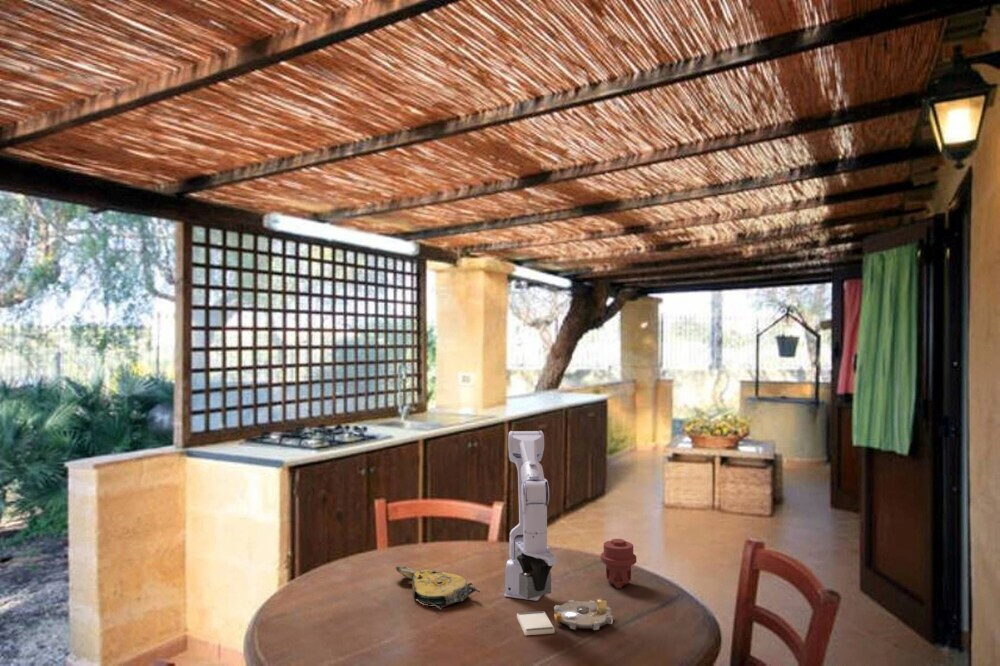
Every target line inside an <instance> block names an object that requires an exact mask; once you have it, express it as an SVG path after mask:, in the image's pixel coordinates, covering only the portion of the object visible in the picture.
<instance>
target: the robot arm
mask: <svg viewBox="0 0 1000 666" xmlns="http://www.w3.org/2000/svg"><path fill="white" fill-rule="evenodd" d="M507 439H508V441H507V443H508V444H507V445H508V446H507V447H508V449H507V450H508V458H509V461H510V462H511V463H514V464H515V467H516V470H517V484H518V485H517V487H518V488H517V491H518V524H517V525H515V526H514V527H513V528H512V529H511V530H510V532H509V545H508V548H509V549H508V550H509V559H507V562H506V564H505V571H504V572H505V573H504V580H505V581H504V583H505V584H504V591H505V592H504V594H503V595H504V597H507V598H514V599H522V600H529V601H535V602H537V601H539V600H540V598H541V597H542V596H538V597H534V598H530V599H526V598H525V597H523V596H521V595H519V573H523V572H528V571H530V570H533V572H534V578H535V588H536V591H542V590H544V589H545V585H546V581H547V577H548V574H549V572H551V570H552V568H553V567H554V566H557V565H558V557H557V556H556V555H555V554H554V553H552V551H551V547H550V546H548V506H547V505H549V501H550V487H549V482H548V479H547V478H545V476H544V475H545V474H544V469H543V465H542V464H541V463H540V462H541V461H542V458H543V454H544V451H545V435H544V432H543V431H542V430H538V431H537V430H533V431H531V430H529V431H528V430H525V431H524V430H523V431H522V430H521V431H516V430H515V431H513V430H510V431H509V432H508V436H507Z"/></svg>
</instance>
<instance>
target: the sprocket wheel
mask: <svg viewBox="0 0 1000 666" xmlns="http://www.w3.org/2000/svg"><path fill="white" fill-rule="evenodd" d="M553 610H554V611H553V613H554V614H553V616H554V617H553V620H554V622H556V623H562V624H564V625H567V626H568V627H569V629H572V630H576V629H578V628H579V629H592V630H593V631H597V630H600V627H602V626H605V625H606V624H609V625H612V624H613V622H614V615H612V608H611V607H610V606H608V604H607V599H606V598H602V597H600V598H596V601H595V600H591V599H590V600H589V601H583V600H578V601H577V600H576V601H575V600H574V599H570V600H567V602H566V603H563V604H561V605H559V604H555V606H553Z"/></svg>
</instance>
